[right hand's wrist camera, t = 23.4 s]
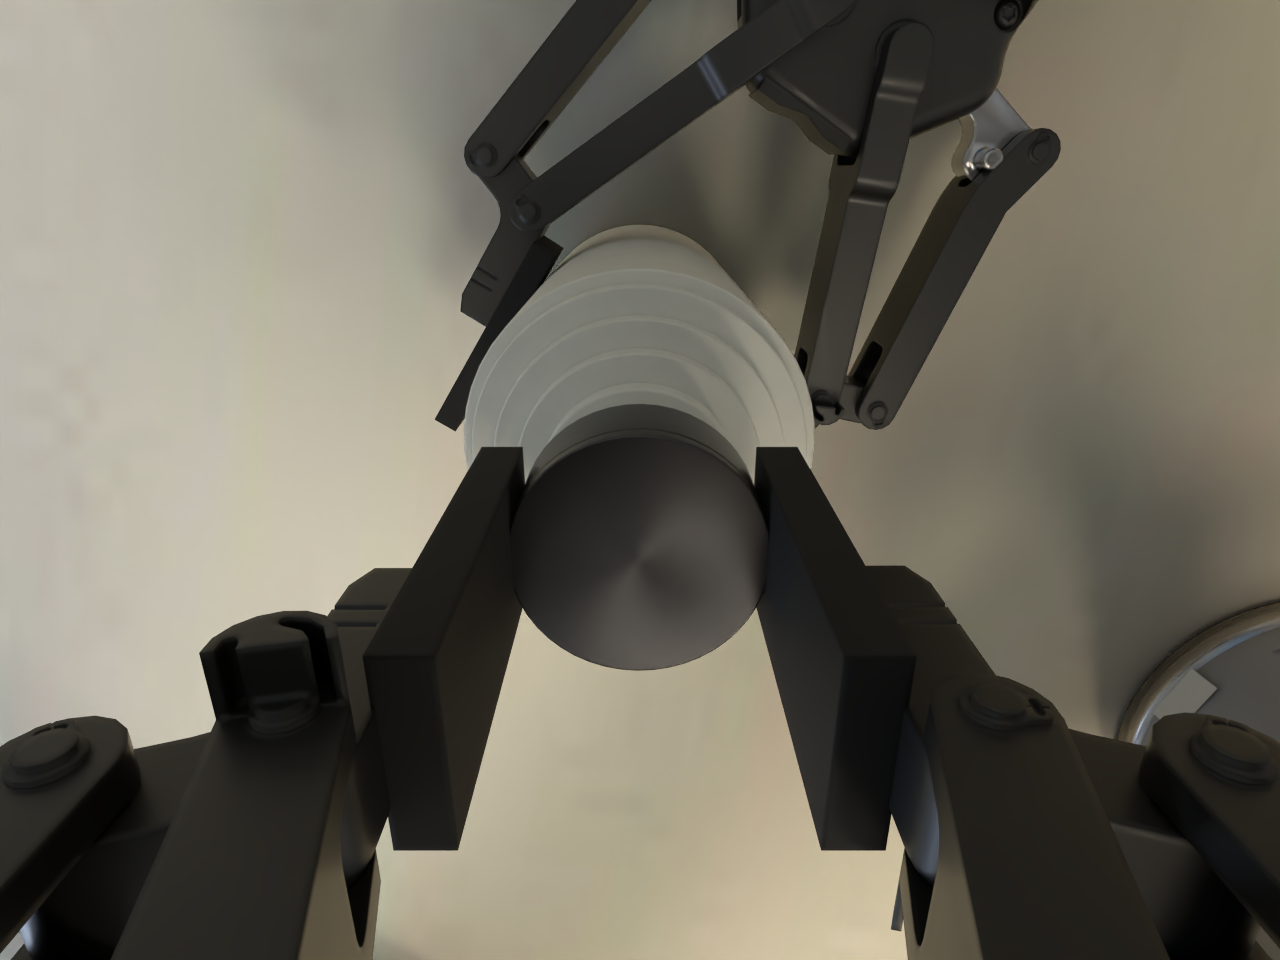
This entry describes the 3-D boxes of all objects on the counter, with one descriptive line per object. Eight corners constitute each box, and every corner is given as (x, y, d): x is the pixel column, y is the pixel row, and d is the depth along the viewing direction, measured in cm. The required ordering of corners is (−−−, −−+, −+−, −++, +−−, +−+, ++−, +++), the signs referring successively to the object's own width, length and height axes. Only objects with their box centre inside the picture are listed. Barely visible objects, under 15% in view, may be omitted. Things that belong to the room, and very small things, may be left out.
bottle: (675, 455, 34) (718, 787, 16) (507, 366, 32) (335, 619, 14) (776, 289, 31) (971, 454, 13) (598, 184, 30) (530, 203, 11)
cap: (713, 639, 15) (722, 696, 14) (499, 585, 15) (481, 637, 13) (790, 440, 14) (810, 476, 12) (553, 373, 13) (540, 402, 12)
